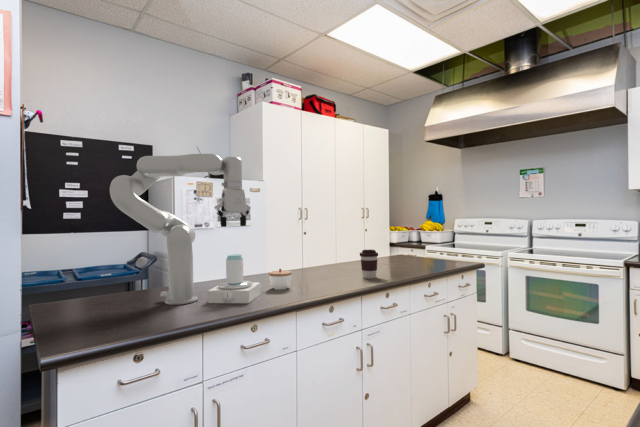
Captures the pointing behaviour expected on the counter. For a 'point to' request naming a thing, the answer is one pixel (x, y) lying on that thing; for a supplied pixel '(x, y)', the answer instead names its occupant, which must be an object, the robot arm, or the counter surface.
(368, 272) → the coffee cup
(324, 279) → the counter surface
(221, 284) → the scale pan
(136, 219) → the robot arm
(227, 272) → the can
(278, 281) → the lidded jar
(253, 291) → the scale base
